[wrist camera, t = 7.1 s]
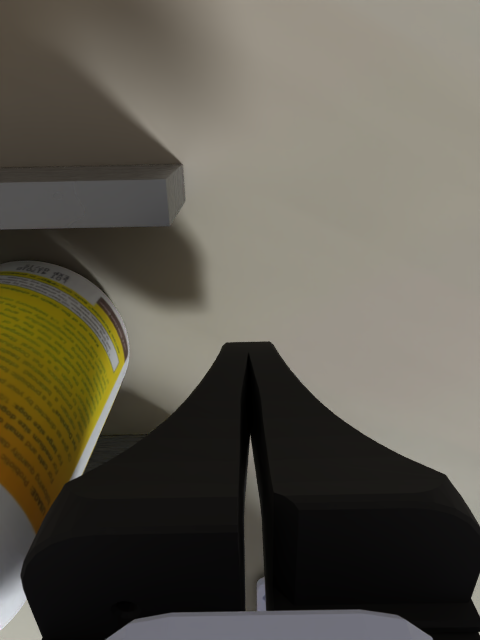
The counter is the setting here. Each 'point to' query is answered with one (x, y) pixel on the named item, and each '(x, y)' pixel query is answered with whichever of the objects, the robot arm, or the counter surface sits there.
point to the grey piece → (92, 217)
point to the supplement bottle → (49, 398)
